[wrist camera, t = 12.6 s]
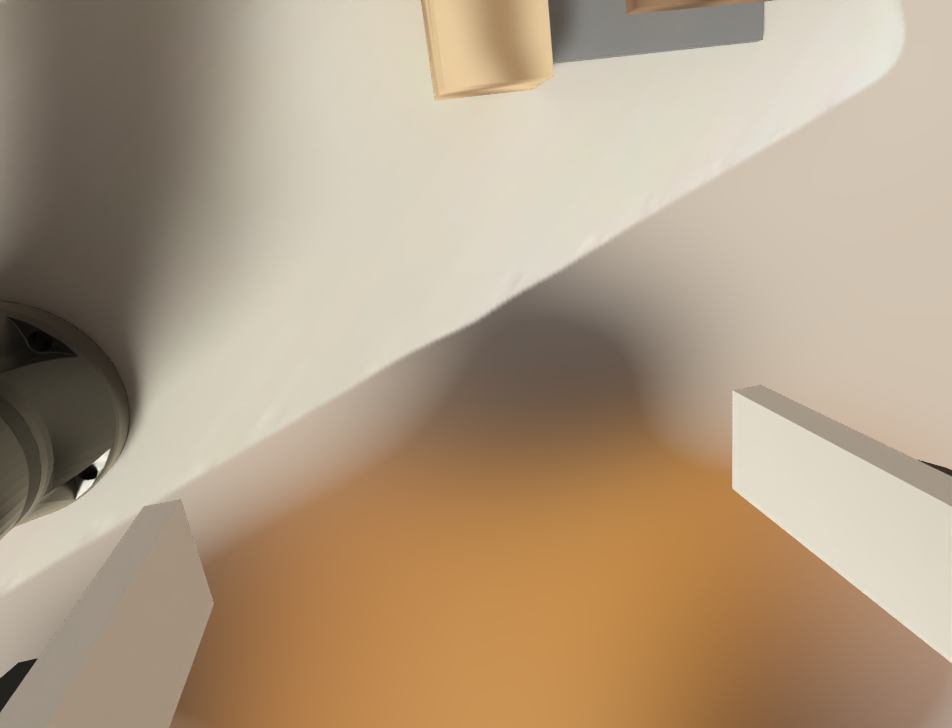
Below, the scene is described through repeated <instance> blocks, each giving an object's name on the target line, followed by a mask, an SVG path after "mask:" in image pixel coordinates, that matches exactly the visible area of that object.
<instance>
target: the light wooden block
mask: <svg viewBox="0 0 952 728" xmlns="http://www.w3.org/2000/svg"><path fill="white" fill-rule="evenodd" d="M421 2H422V10H423V17H424V24H425V32H426V39H427V46H428V54H429V61H430V68H431V76H432V83H433V90H434V98H435V100H443V99H452V98H461V97H470V96H478V95H487V94H496V93H505V92H513V91H522V90H531V89H534V88H535V87H537V86H539V85H540V84H542V83H543V82H545V81H547V80H548V79H550V78H552V77H553V76H554V69H553V57H552V44H551V32H550V19H549V7H548V0H421Z"/></svg>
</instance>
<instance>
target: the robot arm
mask: <svg viewBox="0 0 952 728" xmlns="http://www.w3.org/2000/svg"><path fill="white" fill-rule="evenodd" d="M128 427H129V407H128V400H127V396H126V392H125V389H124V386H123V383H122V381H121V379H120V377H119V374H118V373H117V371H116V369H115V367H114V366H113V364H112V363H111V361H110V360H109V358H108V357H107V356H106V355H105V353H104V352H103V351H102V350H101V349H100V348H99V347H98V346H97V345H96V344H95V343H94V342H93V341H92V340H91V339H90V338H89V337H88V336H86V335H85V334H84V333H83V332H81V331H80V330H79V329H77V328H76V327H74V326H73V325H71V324H69V323H68V322H66V321H64V320H62V319H60V318H58V317H56V316H54V315H52V314H50V313H47V312H45V311H42V310H39V309H36V308H33V307H29V306H25V305H21V304H16V303H9V302H0V540H1V539H2V538H3V537H4V536H5V535H6V534H7V533H8V532H9V531H10V530H11V529H12V528H13V527H15V526H18V525H21V524H23V523H26V522H29V521H31V520H34V519H37V518H39V517H42V516H44V515H47V514H50V513H52V512H55V511H57V510H60V509H62V508H64V507H66V506H68V505H69V504H71V503H73V502H74V501H76V500H77V499H79V498H80V497H82V496H83V495H84V494H86V493H87V492H88V491H89V490H90V489H92V488H93V487H94V486H95V485H96V484H97V483H98V481H99V480H100V479H101V478H102V477H103V476H104V475H105V474H106V473H107V472H108V471H109V469H110V468H111V467H112V466H113V464H114V463H115V461H116V460H117V458H118V457H119V455H120V453H121V451H122V449H123V446H124V444H125V441H126V437H127V433H128ZM732 450H733V451H732V453H733V454H732V456H733V457H732V459H733V460H732V466H733V467H732V473H733V474H732V475H733V477H732V484H733V485H732V489H734V490H735V491H736V492H737V493H739V494H740V495H741V496H742V497H744V498H745V499H746V500H748V501H749V502H750V503H751V504H753V505H754V506H755V507H756V508H758V509H759V510H760V511H761V512H763V513H764V514H765V515H766V516H768V517H769V518H770V519H771V520H773V521H774V522H775V523H776V524H778V525H779V526H780V527H781V528H783V529H784V530H785V531H787V532H788V533H789V534H790V535H791V536H793V537H794V538H795V539H796V540H798V541H799V542H800V543H802V544H803V545H804V546H805V547H807V548H808V549H809V550H810V551H812V552H813V553H814V554H815V555H817V556H818V557H819V558H820V559H822V560H823V561H824V562H825V563H827V564H828V565H829V566H830V567H832V568H833V569H834V570H836V571H837V572H838V573H839V574H841V575H842V576H843V577H844V578H845V579H847V580H848V581H849V582H850V583H852V584H853V585H854V586H856V587H857V588H858V589H859V590H861V591H862V592H863V593H864V594H866V595H867V596H868V597H869V598H871V599H872V600H873V601H874V602H876V603H877V604H878V605H880V606H881V607H882V608H883V609H884V610H886V611H887V612H888V613H889V614H891V615H892V616H893V617H894V618H896V619H897V620H898V621H899V622H901V623H902V624H903V625H905V626H906V627H907V628H908V629H910V630H911V631H912V632H913V633H915V634H916V635H917V636H918V637H920V638H921V639H922V640H923V641H925V642H926V643H927V644H928V645H930V646H931V647H932V648H934V649H935V650H936V651H937V652H939V653H940V654H941V655H942V656H944V657H945V658H946V659H947V660H949V661H950V662H952V470H950V469H948V468H945V467H941V466H937V465H934V464H931V463H927V462H924V461H920V460H916V459H914V458H912V457H910V456H907V455H906V454H904V453H901V452H899V451H897V450H895V449H893V448H891V447H889V446H887V445H885V444H883V443H881V442H879V441H876V440H874V439H872V438H870V437H868V436H866V435H864V434H862V433H860V432H858V431H856V430H854V429H851V428H849V427H847V426H845V425H843V424H841V423H838V422H837V421H835V420H833V419H831V418H829V417H826V416H824V415H822V414H820V413H818V412H816V411H814V410H812V409H810V408H808V407H806V406H803V405H801V404H799V403H797V402H795V401H793V400H791V399H789V398H787V397H785V396H783V395H781V394H778V393H776V392H774V391H772V390H770V389H768V388H766V387H764V386H762V385H758V386H753V387H748V388H743V389H738V390H733V447H732ZM213 605H214V603H213V600H212V596H211V593H210V590H209V587H208V584H207V581H206V577H205V574H204V571H203V568H202V565H201V561H200V558H199V555H198V552H197V549H196V546H195V542H194V539H193V536H192V533H191V530H190V526H189V523H188V520H187V517H186V514H185V511H184V507H183V504H182V501H181V499H180V500H175V501H170V502H165V503H160V504H155V505H149V506H144V507H143V509H142V510H141V512H140V513H139V514H138V516H137V517H136V519H135V520H134V522H133V523H132V524H131V526H130V527H129V529H128V530H127V532H126V533H125V534H124V536H123V537H122V539H121V540H120V542H119V543H118V545H117V546H116V547H115V549H114V550H113V552H112V553H111V555H110V556H109V557H108V559H107V560H106V562H105V563H104V565H103V566H102V567H101V569H100V570H99V572H98V573H97V575H96V576H95V578H94V579H93V581H92V582H91V583H90V585H89V586H88V588H87V589H86V590H85V592H84V593H83V595H82V596H81V598H80V599H79V600H78V602H77V604H76V605H75V606H74V608H73V609H72V611H71V612H70V614H69V615H68V616H67V618H66V619H65V621H64V622H63V624H62V625H61V626H60V628H59V629H58V631H57V632H56V633H55V635H54V636H53V638H52V639H51V641H50V642H49V644H48V645H47V646H46V648H45V649H44V651H43V652H42V653H41V655H40V656H39V658H37V659H33V660H29V661H24V662H19V663H18V664H16V665H15V666H14V667H13V668H12V669H11V670H10V671H8V672H7V673H6V674H5V675H4V676H3V677H1V678H0V728H169V726H170V723H171V721H172V718H173V715H174V712H175V710H176V707H177V704H178V701H179V699H180V696H181V693H182V690H183V688H184V685H185V682H186V679H187V677H188V673H189V671H190V668H191V666H192V663H193V660H194V657H195V654H196V652H197V649H198V646H199V643H200V641H201V638H202V635H203V632H204V630H205V627H206V624H207V621H208V619H209V616H210V613H211V610H212V607H213Z"/></svg>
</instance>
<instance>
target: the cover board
mask: <svg viewBox="0 0 952 728" xmlns="http://www.w3.org/2000/svg"><path fill="white" fill-rule="evenodd" d="M761 1H772V0H626V11H627V15H629V14H639V13H649V12H659V11H670V10H680V9H690V8H700V7H710V6H721V5H731V4H741V3H751V2H761Z"/></svg>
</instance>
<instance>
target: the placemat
mask: <svg viewBox="0 0 952 728" xmlns="http://www.w3.org/2000/svg"><path fill="white" fill-rule="evenodd" d="M548 7H549V19H550V32H551V44H552V57H553V64H554V63H564V62H573V61H582V60H591V59H600V58H610V57H619V56H628V55H637V54H647V53H656V52H665V51H674V50H684V49H693V48H702V47H711V46H721V45H730V44H739V43H748V42H757V41H760V40H763V1H761V2H751V3H741V4H731V5H721V6H710V7H700V8H690V9H680V10H670V11H659V12H649V13H639V14H629V15H627V11H626V0H548Z"/></svg>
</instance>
